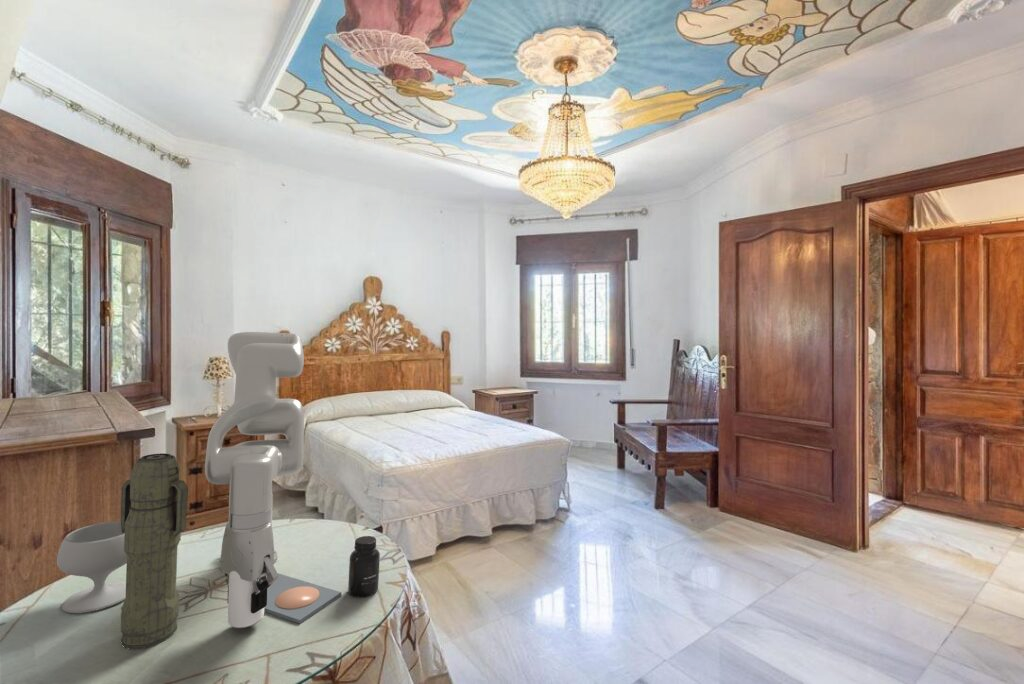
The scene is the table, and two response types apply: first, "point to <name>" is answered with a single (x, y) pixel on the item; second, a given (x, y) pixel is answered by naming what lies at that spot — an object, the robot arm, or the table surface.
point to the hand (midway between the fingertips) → (247, 604)
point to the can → (241, 602)
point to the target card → (297, 598)
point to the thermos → (152, 549)
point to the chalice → (94, 565)
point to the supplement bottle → (364, 567)
